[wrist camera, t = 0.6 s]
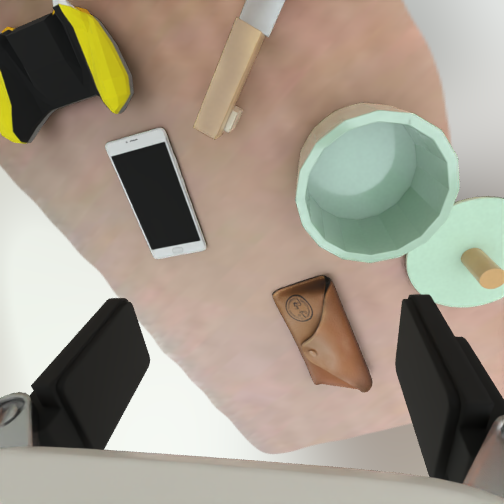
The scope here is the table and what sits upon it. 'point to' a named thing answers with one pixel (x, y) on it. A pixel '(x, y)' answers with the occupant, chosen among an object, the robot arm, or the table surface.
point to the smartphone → (157, 193)
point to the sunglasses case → (323, 333)
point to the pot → (375, 182)
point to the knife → (236, 64)
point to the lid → (463, 256)
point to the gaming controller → (57, 69)
